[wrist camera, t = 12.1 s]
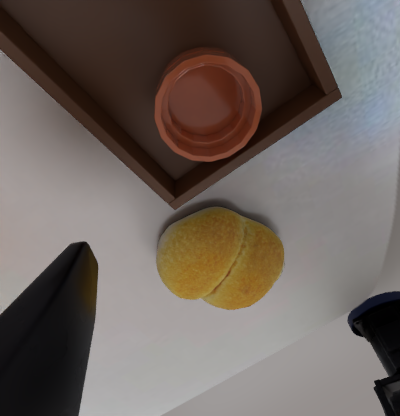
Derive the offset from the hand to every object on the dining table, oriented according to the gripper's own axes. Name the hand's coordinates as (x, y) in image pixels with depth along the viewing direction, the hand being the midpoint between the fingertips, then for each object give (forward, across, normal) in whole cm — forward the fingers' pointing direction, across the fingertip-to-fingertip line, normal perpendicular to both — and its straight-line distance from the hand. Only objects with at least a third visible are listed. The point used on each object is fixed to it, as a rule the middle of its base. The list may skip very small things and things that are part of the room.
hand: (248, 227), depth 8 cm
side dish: (+9, 0, -1) cm, 9 cm away
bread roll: (+10, 0, +11) cm, 15 cm away
